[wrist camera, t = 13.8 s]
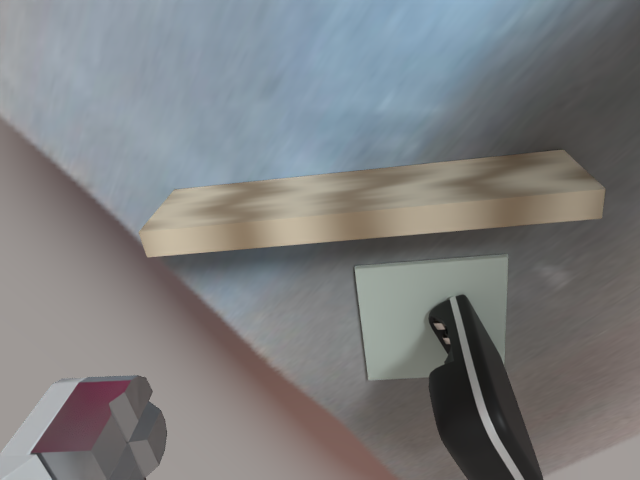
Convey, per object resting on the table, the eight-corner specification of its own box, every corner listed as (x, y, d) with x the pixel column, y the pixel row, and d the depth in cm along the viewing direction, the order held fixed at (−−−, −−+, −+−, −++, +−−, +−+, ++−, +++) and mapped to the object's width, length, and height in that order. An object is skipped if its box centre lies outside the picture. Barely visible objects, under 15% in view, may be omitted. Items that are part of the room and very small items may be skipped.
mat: (506, 253, 34) (508, 257, 33) (502, 369, 38) (503, 373, 38) (354, 265, 35) (354, 269, 35) (368, 376, 40) (368, 380, 39)
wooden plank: (563, 149, 30) (605, 188, 25) (561, 174, 31) (601, 218, 26) (174, 189, 33) (138, 232, 28) (180, 211, 34) (147, 257, 29)
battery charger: (411, 308, 36) (429, 443, 26) (462, 286, 35) (502, 418, 25) (453, 376, 38) (485, 522, 28) (502, 357, 37) (553, 503, 27)
